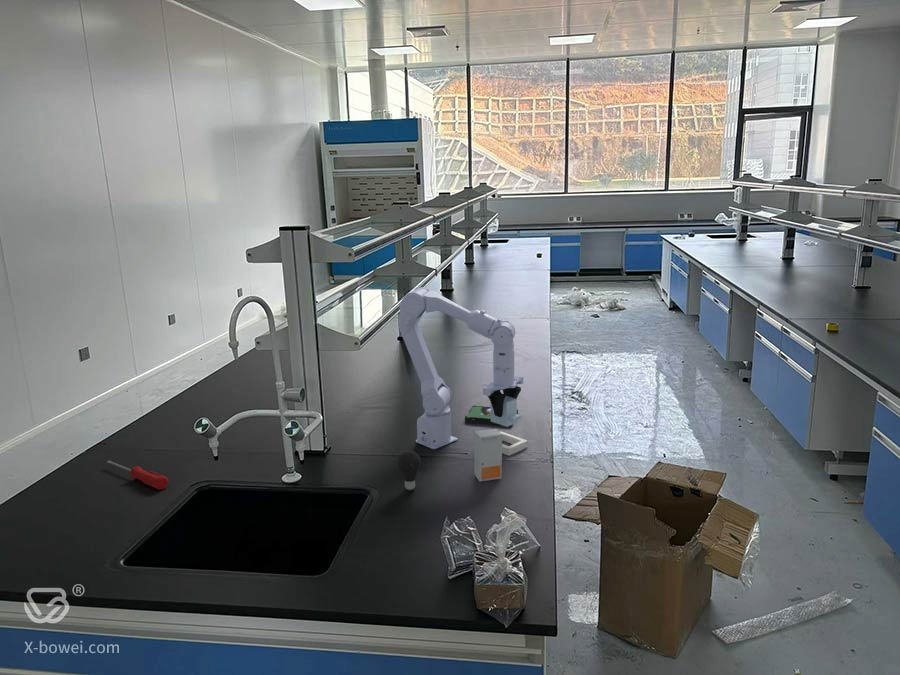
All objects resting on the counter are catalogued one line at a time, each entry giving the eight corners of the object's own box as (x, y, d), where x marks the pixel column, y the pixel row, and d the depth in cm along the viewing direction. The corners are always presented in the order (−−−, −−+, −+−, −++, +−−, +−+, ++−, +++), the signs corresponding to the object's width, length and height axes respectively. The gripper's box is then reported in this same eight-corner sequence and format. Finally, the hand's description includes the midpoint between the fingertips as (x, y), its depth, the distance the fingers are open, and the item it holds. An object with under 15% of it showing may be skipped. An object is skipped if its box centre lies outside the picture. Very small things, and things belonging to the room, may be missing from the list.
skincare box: (479, 482, 157) (479, 437, 154) (474, 475, 161) (473, 430, 158) (502, 479, 158) (502, 434, 155) (496, 471, 162) (496, 427, 159)
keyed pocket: (508, 455, 171) (508, 448, 171) (482, 445, 178) (482, 439, 178) (527, 447, 177) (527, 440, 176) (501, 437, 184) (501, 431, 183)
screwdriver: (115, 464, 171) (113, 452, 171) (170, 487, 158) (168, 474, 157) (102, 469, 169) (100, 457, 168) (157, 493, 155) (155, 479, 154)
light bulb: (393, 489, 154) (392, 451, 151) (411, 482, 158) (409, 444, 155) (409, 497, 150) (407, 458, 148) (426, 489, 154) (425, 451, 151)
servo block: (512, 428, 172) (512, 402, 170) (485, 419, 179) (485, 393, 177) (522, 424, 174) (522, 398, 173) (495, 415, 181) (494, 390, 180)
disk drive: (518, 417, 201) (472, 412, 205) (518, 409, 200) (472, 404, 204) (511, 429, 191) (464, 424, 195) (511, 420, 191) (464, 416, 195)
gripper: (496, 375, 165) (497, 424, 168) (532, 363, 175) (531, 410, 178) (477, 370, 170) (477, 418, 173) (512, 359, 180) (512, 404, 183)
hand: (503, 413), depth 176 cm, fingers closed on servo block, 4 cm apart
